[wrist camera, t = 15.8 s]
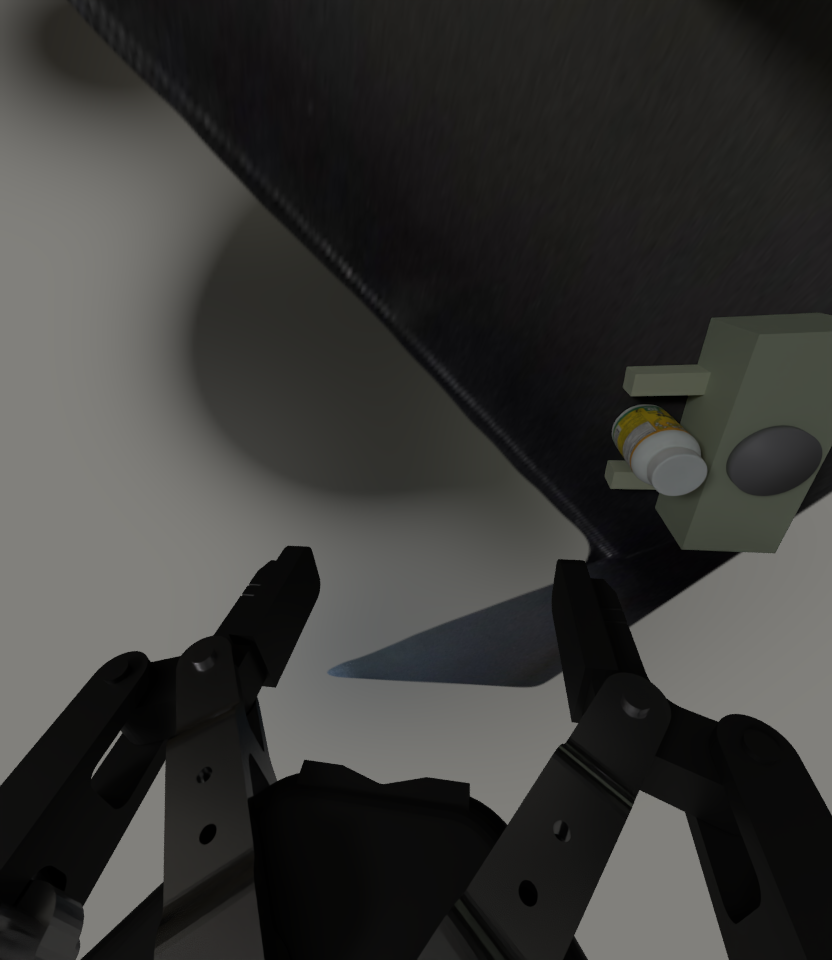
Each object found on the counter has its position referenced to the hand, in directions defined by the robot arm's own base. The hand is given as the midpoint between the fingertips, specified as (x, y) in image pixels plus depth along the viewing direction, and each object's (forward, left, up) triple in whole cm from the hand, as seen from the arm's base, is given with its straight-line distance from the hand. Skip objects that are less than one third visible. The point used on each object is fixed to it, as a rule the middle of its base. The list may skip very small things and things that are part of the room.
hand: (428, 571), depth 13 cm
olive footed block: (+8, +22, -30) cm, 38 cm away
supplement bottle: (+8, +17, -30) cm, 36 cm away
